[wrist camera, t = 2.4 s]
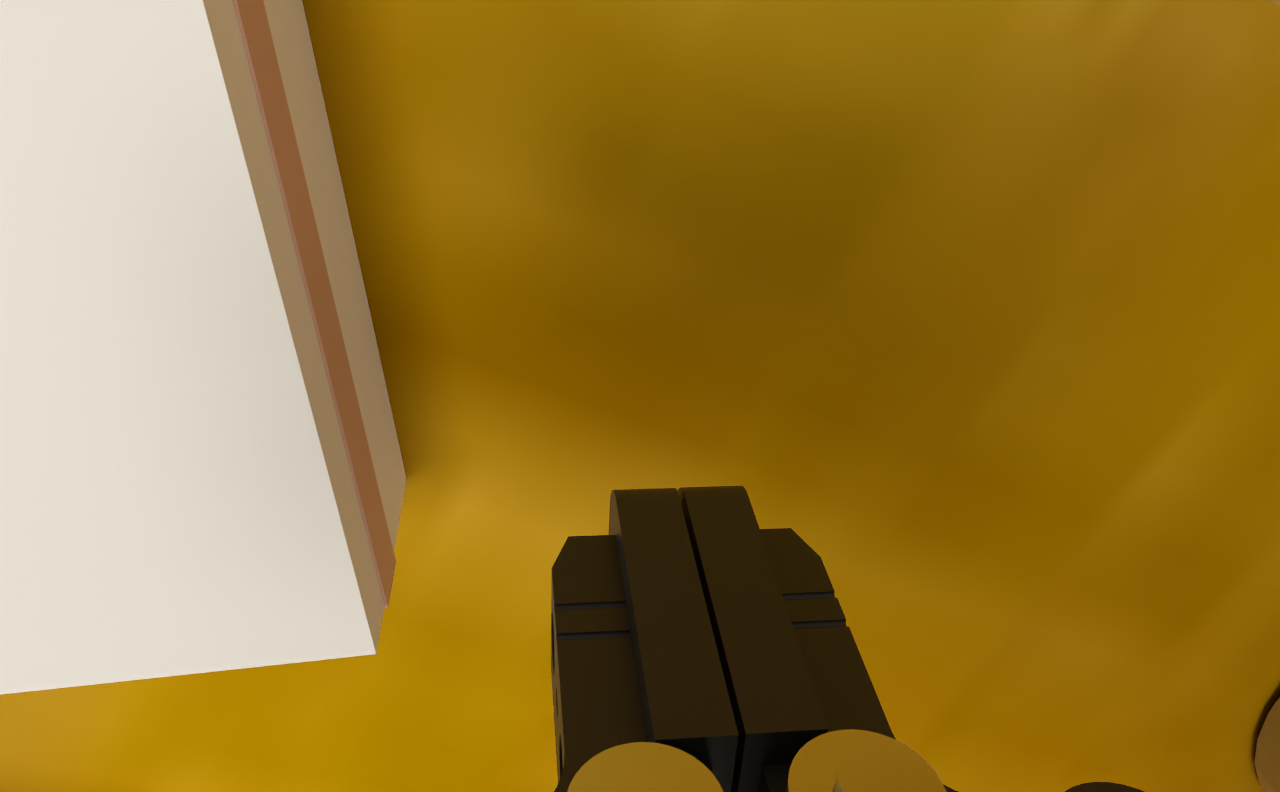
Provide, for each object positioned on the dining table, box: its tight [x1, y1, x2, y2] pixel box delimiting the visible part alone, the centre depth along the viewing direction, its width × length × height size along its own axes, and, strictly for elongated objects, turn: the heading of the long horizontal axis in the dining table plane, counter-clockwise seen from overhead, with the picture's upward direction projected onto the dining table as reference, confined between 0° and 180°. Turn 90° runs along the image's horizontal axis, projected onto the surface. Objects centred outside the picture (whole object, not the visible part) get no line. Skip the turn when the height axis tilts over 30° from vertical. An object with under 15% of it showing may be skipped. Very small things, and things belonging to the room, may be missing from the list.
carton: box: [0, 0, 406, 694], centre depth 15 cm, size 9×12×5 cm
